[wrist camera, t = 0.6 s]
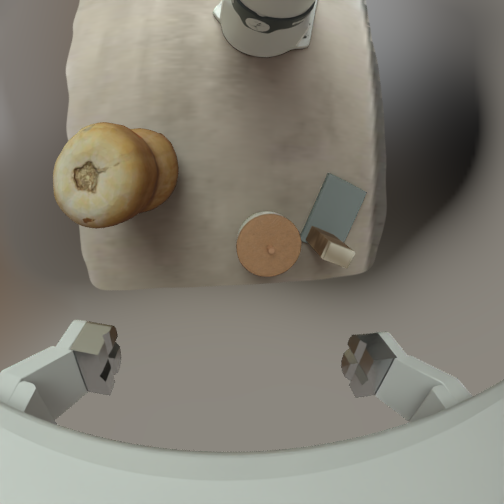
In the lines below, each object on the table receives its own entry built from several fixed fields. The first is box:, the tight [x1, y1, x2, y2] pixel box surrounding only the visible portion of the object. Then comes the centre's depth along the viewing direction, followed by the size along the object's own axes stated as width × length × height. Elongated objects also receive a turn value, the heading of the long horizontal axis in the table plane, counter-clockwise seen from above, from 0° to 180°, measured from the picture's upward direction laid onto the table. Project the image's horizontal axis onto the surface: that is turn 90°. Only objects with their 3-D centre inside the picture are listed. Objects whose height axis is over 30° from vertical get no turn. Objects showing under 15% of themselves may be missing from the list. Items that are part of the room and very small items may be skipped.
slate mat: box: [300, 173, 367, 244], centre depth 52 cm, size 14×9×1 cm, turn 158°
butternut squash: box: [53, 122, 178, 228], centre depth 34 cm, size 14×13×25 cm
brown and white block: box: [306, 226, 355, 268], centre depth 49 cm, size 3×5×10 cm, turn 68°
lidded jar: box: [236, 211, 301, 277], centre depth 48 cm, size 11×11×9 cm
